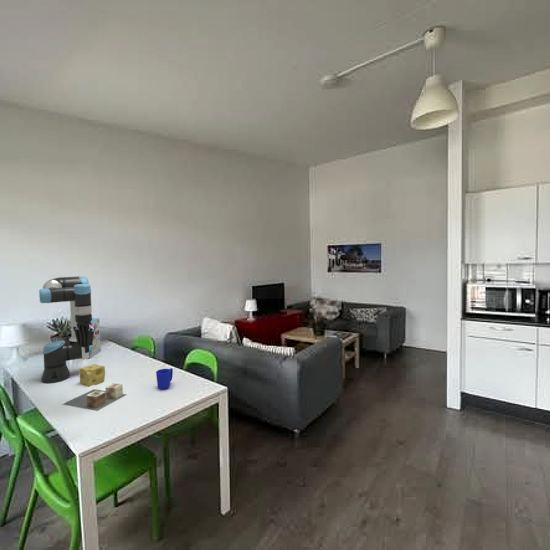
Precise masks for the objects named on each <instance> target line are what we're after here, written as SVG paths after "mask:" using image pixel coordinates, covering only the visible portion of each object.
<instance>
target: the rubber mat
mask: <svg viewBox="0 0 550 550" xmlns="http://www.w3.org/2000/svg"><path fill="white" fill-rule="evenodd" d="M94 391H102V392H105V402H106V403H105V404H103V405H101V406H99V407H97V408H92V407H87V395H88V394H90V393H92V392H94ZM127 395H128V394H126V393H123V395H121V396H120V397H118V398H117V399H107V398H106V390H101V389H95V388H94V389H91V390H89V391H87V392H85V393H82V394H80V395H78V396H77V397H74V398H72V399H70V400H68V401H65V402H64V403H62V405H64V406H69V407H74V408H80V409H85V410H89V411H96V412H98V411H100V410H101V409H103V408H105V407H107V406H109V405H111V404H113V403H114V402H116V401H118V400H120V399H122V398H124V397H126V396H127Z"/></svg>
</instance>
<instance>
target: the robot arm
mask: <svg viewBox="0 0 550 550" xmlns="http://www.w3.org/2000/svg"><path fill="white" fill-rule="evenodd" d="M38 293H39V302H40V304H50V303H51V304H52V303H54V304H55V303H62V302H63V303H65V302H69V304H70V305H69V306H70V327H71V328H70V329H71V330H70V331H71V337H70V338H69V339H68V342H66V341H65V340H63V339H62V340H56V341H52V342H49V343H47V344H45V345H43V352H42V354H43V368H44V369H43V372H42V375H41V377H40V379H41V382H42V383H43V384H52V383H57V382H62V381H65V380H68V379H70V377H71V371H70V370H69V368H68V365H67V362H69V361H72V360H74V361H75V360H80V359H81V360H88V359H87V358H89V356H91V353H92V343H93V336H94V331H95V327H94V328H93V327H92V325H91V321H92V319H93V315H92V311H93V308H92V288H91V284H90V282H89V278H88V277H86V276H79V275H78V276H64V277H63V276H61V277H60V276H59V277H55V278H51V279H49V280H47V281H46V282H45V283H44V284H43V285H42V288H41V289H39V290H38Z"/></svg>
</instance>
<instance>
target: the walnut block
mask: <svg viewBox="0 0 550 550" xmlns="http://www.w3.org/2000/svg"><path fill="white" fill-rule="evenodd" d="M102 391H103V390H102ZM102 391H94V392H92V393H90V394H88V395H87V407H92V408H97V407H99V406H101V405H103V404H105V403H106V402H105V392H102Z"/></svg>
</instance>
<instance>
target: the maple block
mask: <svg viewBox="0 0 550 550" xmlns="http://www.w3.org/2000/svg"><path fill="white" fill-rule="evenodd" d="M104 390H105V391H106V398H107V399H117V398H118V397H120V396H121V395H123V394H124V393H123V392H124V389H123V383H114V382H113V383H110V384H109V385H108V386H106V387H105V389H104Z"/></svg>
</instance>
